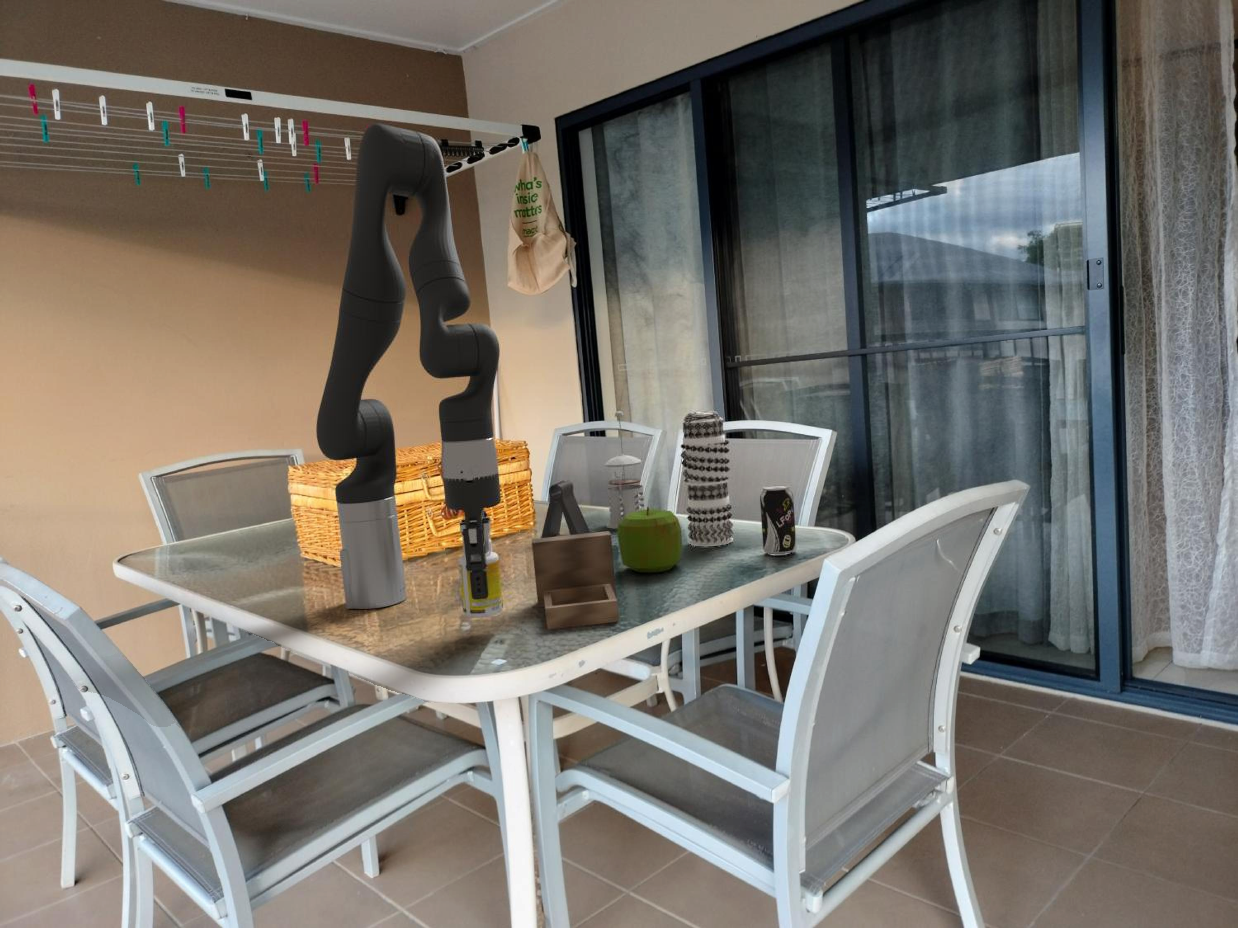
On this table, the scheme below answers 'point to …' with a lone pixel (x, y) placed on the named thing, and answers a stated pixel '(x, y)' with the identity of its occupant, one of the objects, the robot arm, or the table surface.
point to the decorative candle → (706, 479)
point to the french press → (623, 488)
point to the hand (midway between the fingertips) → (481, 591)
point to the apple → (650, 540)
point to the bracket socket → (576, 579)
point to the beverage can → (778, 519)
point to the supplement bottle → (494, 599)
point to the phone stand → (563, 511)
